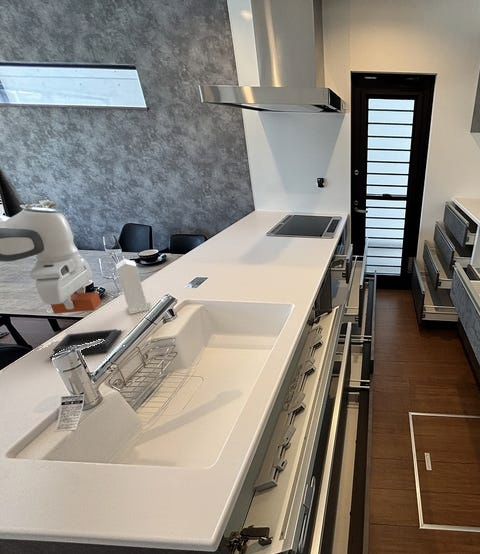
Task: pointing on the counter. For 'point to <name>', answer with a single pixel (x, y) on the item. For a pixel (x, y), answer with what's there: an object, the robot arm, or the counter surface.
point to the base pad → (89, 337)
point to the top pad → (79, 303)
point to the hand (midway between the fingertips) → (76, 303)
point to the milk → (131, 286)
